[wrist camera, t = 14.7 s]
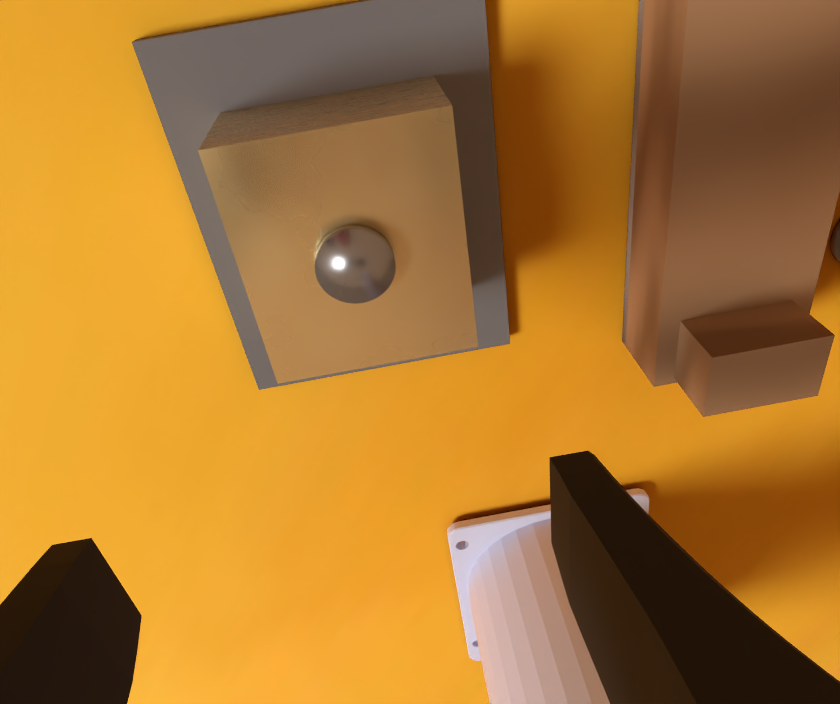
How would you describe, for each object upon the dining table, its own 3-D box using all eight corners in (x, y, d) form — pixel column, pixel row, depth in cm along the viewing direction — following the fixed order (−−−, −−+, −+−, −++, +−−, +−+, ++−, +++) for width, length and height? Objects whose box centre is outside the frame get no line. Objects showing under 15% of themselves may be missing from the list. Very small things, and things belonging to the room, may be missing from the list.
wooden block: (459, 290, 19) (481, 355, 16) (284, 322, 19) (276, 393, 16) (432, 75, 15) (455, 109, 13) (219, 113, 15) (194, 156, 12)
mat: (507, 336, 20) (510, 343, 20) (260, 381, 20) (259, 389, 20) (480, -21, 15) (483, -20, 14) (136, 39, 15) (131, 42, 14)
